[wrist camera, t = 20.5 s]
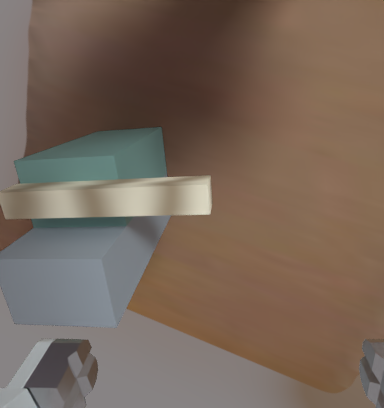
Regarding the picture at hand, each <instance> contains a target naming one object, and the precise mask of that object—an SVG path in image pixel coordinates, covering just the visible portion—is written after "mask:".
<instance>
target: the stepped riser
mask: <svg viewBox="0 0 384 408" xmlns="http://www.w3.org/2000/svg"><path fill="white" fill-rule="evenodd" d="M14 164H15V167H16V171H17V174H18V177H19V181H20V184H25V183H48V182H71V181H93V180H116V179H139V178H161V177H167V169H166V161H165V152H164V143H163V135H162V127H153V128H139V129H125V130H110V131H98V132H95V133H92V134H89V135H86V136H83V137H81V138H78V139H75V140H72V141H69V142H66V143H64V144H61V145H58V146H55V147H52V148H49V149H47V150H44V151H41V152H38V153H35V154H32V155H30V156H27V157H24V158H22V159H18V160H16V161H14ZM170 216H171V215H163V216H122V217H81V218H39V219H31V220H32V223H33V227H34V228H33V229H31V230H30V231H29V232H27V233H26V234H25V235H23V236H22V237H20V238H19V239H18V240H16V241H15V242H13V243H12V244H11V245H9V246H8V247H6V248H5V249H4V250H2V251H1V252H0V286H1V289H2V292H3V294H4V297H5V300H6V302H7V305H8V307H9V310H10V313H11V316H12V318H13V321H14V323H15V324H28V325H55V326H83V327H111V328H117V326H118V324H119V322H120V320H121V318H122V316H123V314H124V311H125V310H126V308H127V306H128V303H129V301H130V299H131V297H132V295H133V293H134V291H135V289H136V287H137V285H138V283H139V281H140V279H141V277H142V274H143V272H144V270H145V268H146V266H147V264H148V262H149V260H150V258H151V256H152V254H153V252H154V250H155V248H156V245H157V243H158V241H159V239H160V237H161V235H162V233H163V231H164V229H165V227H166V225H167V223H168V221H169V219H170Z"/></svg>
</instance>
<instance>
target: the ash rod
mask: <svg viewBox="0 0 384 408" xmlns="http://www.w3.org/2000/svg"><path fill="white" fill-rule="evenodd" d="M0 204H1V207H2V210H3V213H4V216H5V219H39V218H81V217H122V216H163V215H205V214H210V212H211V207H212V191H211V175H207V176H184V177H161V178H139V179H116V180H93V181H71V182H48V183H25V184H15V185H13V186H11V187H8V188H6V189H4V190H2V191H0Z"/></svg>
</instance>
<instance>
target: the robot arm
mask: <svg viewBox="0 0 384 408" xmlns="http://www.w3.org/2000/svg"><path fill="white" fill-rule="evenodd" d="M90 350H91V345H90V343H89V341H88V340H79V339H41V340H40V341H38V342H37V343H36V345H35V346H34V347H33V349H32V350H31V352H30V353H29V355H28V356H27V358H26V359H25V361H24V362H23V364H22V365H21V366H20V368H19V369H18V371H17V372H16V374H15V375H14V377H13V379H12V380H11V381H10V383H9V384H8V386H7V387H6V388H0V408H85V407H86V401H85V396H86V395H87V394H88V393H90V392H91V391H92V389H93V387H94V385H95V382H96V379H97V372H98V365H97V360H96V358H95V357H94V356H93V355H92V354H91V353H89V352H90ZM362 350H363V352H364V354H365V356H364V357H363V358H362V359H361V360H360V367H359V370H360V378H361V382H362V385H363V388H364V391H365V393H366V396H367V398H368V399H370V400H371V401H372V402H373V403H374V404H375V405H376V408H384V339H365V340H364V342H363V346H362Z"/></svg>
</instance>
